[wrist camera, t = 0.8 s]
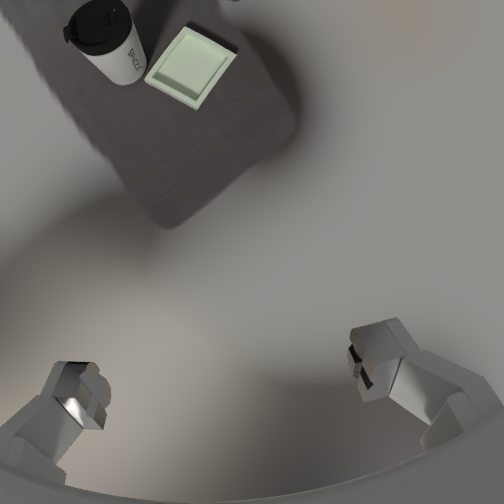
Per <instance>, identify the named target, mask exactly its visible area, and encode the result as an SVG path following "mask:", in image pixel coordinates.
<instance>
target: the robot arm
mask: <svg viewBox="0 0 504 504" xmlns="http://www.w3.org/2000/svg"><path fill="white" fill-rule="evenodd" d="M350 340H351V342H352V345H351V346H350V347H349V348H348V364H349V367H350V371H351V373H352V375H353V376H354V377H356V378H357V379H359V381H358V386H357V387H358V389H359V391H360V394H361V396H362V398H363V401H364V402H368V401H371V400H375V399H378V398H382V397H385V396H388V395H389V397H390V398H391V399H393V400H394V401H396V402H397V403H398V404H400V405H401V406H403V407H404V408H405V409H407V410H408V411H410V412H411V413H413V414H414V415H415V416H417V417H418V418H420V419H421V420H422V421H424V422H425V423H427V424H428V425H430V426H429V428H428V429H427V431H426V432H425V433H424V435H423V436H422V438H421V440H420V442H421V444H422V446H423V448H424V450H425V453H422V454H420V455H418V456H416V457H413V458H411V459H409V460H406V461H404V462H402V463H399V464H397V465H394V466H392V467H389V468H386V469H383V470H380V471H378V472H375V473H372V474H369V475H366V476H363V477H360V478H356V479H353V480H350V481H346V482H343V483H339V484H335V485H331V486H327V487H323V488H319V489H315V490H310V491H305V492H300V493H294V494H289V495H283V496H276V497H269V498H262V499H252V500H242V501H227V502H169V501H154V500H144V499H135V498H127V497H119V496H113V495H108V494H102V493H97V492H92V491H88V490H83V489H79V488H75V487H71V486H67V485H64V484H65V479H66V473H65V471H64V470H62V469H61V468H60V467H58V466H57V465H56V464H57V462H58V461H59V460H60V459H61V457H62V456H63V455H64V454H65V452H66V451H67V450H68V449H69V447H70V446H71V445H72V444H73V442H74V441H75V440H76V439H77V437H78V436H79V435H80V434H81V432H82V431H83V429H94V430H103V429H104V424H105V420H106V416H107V414H106V411H105V408H106V407H107V406H108V405H109V404H110V400H111V388H110V386H109V383H108V382H107V380H106V378H104V377H103V376H101V375H100V374H99V368H98V366H97V365H96V364H95V363H94V362H74V361H58V362H56V363H55V364H54V366H53V368H52V370H51V372H50V374H49V377H48V379H47V381H46V383H45V385H44V388H43V390H42V392H41V394H40V395H37V396H36V397H35V398H33V399H32V400H31V401H30V402H29V403H27V404H26V405H25V406H24V407H23V408H22V409H21V410H19V411H18V412H17V413H16V414H15V415H14V416H12V417H11V418H10V419H9V420H8V421H7V422H6V423H5V424H3V425H2V426H1V427H0V504H504V406H503V404H502V403H501V401H500V400H499V398H498V397H497V395H496V394H495V392H494V391H493V389H492V388H491V386H490V385H489V383H488V382H487V381H486V379H485V378H484V377H483V376H481V375H479V374H476V373H474V372H472V371H470V370H468V369H465V368H463V367H461V366H459V365H457V364H455V363H452V362H450V361H448V360H446V359H444V358H442V357H439V356H438V355H435V354H433V353H431V352H429V351H427V350H423V351H421V350H420V348H419V347H418V345H417V344H416V342H415V341H414V340H413V339H412V337H411V335H410V334H409V333H408V332H407V330H406V328H405V327H404V326H403V324H402V323H401V322H400V320H399V319H398V318H396V317H395V318H391V319H388V320H384V321H381V322H376V323H373V324H369V325H365V326H361V327H357V328H353V329H352V330H351V332H350Z"/></svg>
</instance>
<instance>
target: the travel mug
mask: <svg viewBox="0 0 504 504" xmlns="http://www.w3.org/2000/svg"><path fill="white" fill-rule="evenodd" d="M63 33H64V38H65V41H66V42H67V43H68V42H69V41H68V40H70V41H71V42H72V43H73V44H74V45H75V46H76V47H77V48H78V49H79V50H80V51H81V52H82V53H83V54H84V55H85V56H86V57H87V58H88V59H89V60H90V61H91V62H92V63H93V64H94V65H96V66H97V67H98V68H99V69H100V70H101V71H102V72H103V73H104V74H105V75H106V76H107V77H108V78H109V79H110V80H111V81H113V82H114V83H115V84H117V85H122V86H126V85H131V84H133V83H135V82H137V81H138V80H140V79H141V78H142V76H143V75H144V74H145V72H146V69H147V60H146V57H145V54H144V51H143V48H142V45H141V43H140V40H139V37H138V34H137V31H136V28H135V25H134V23H133V20H132V17H131V15H130V13H129V10H128V8H127V7H126V6H125V5H124V3H123V2H122V1H121V0H92V1H89V2H87V3H86V4H84V5H83V6H81V7H80V8H79V9H78V10H77V11H76V12H75V13H74V14H73V16H72V17H71V19H70V21H69V23H68V26H66V27H64V28H63Z"/></svg>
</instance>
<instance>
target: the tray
mask: <svg viewBox="0 0 504 504" xmlns="http://www.w3.org/2000/svg"><path fill="white" fill-rule="evenodd" d="M235 57H236V54H234V53H233V52H231V51H229V50H227V49H226V48H224V47H222V46H221V45H219V44H217V43H215V42H214V41H212V40H210V39H208V38H206V37H204V36H203V35H201V34H199V33H197V32H195V31H193V30H191V29H189V28H187V27H184V28H183V29H182V30H181V31H180V33H179V34H178V35H177V36H176V38H175V39H174V40H173V41H172V43H171V44H170V45H169V46H168V48H167V49H166V50H165V51H164V53H163V54H162V55H161V57H160V58H159V59H158V61H157V62H156V64H155V65H154V66H153V68H152V69H151V70H150V72H149V73H148V75H147V76H146V78H145V79H144V80H145V82H146V83H148V84H150V85H152V86H154V87H155V88H157V89H159V90H161V91H163V92H165V93H167V94H169V95H170V96H172V97H174V98H176V99H178V100H179V101H181V102H183V103H185V104H187V105H188V106H190V107H192V108H194V109H195V110H197V109H198V108H199V107H200V105H201V104H202V102H203V101H204V99H205V98H206V96H207V95H208V93H209V92H210V91H211V89H212V88H213V86H214V85H215V84H216V82H217V81H218V79H219V78H220V77H221V75H222V74H223V73H224V71H225V70H226V69H227V67H228V66H229V65H230V63H231V62H232V61H233V60H234V58H235Z"/></svg>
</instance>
